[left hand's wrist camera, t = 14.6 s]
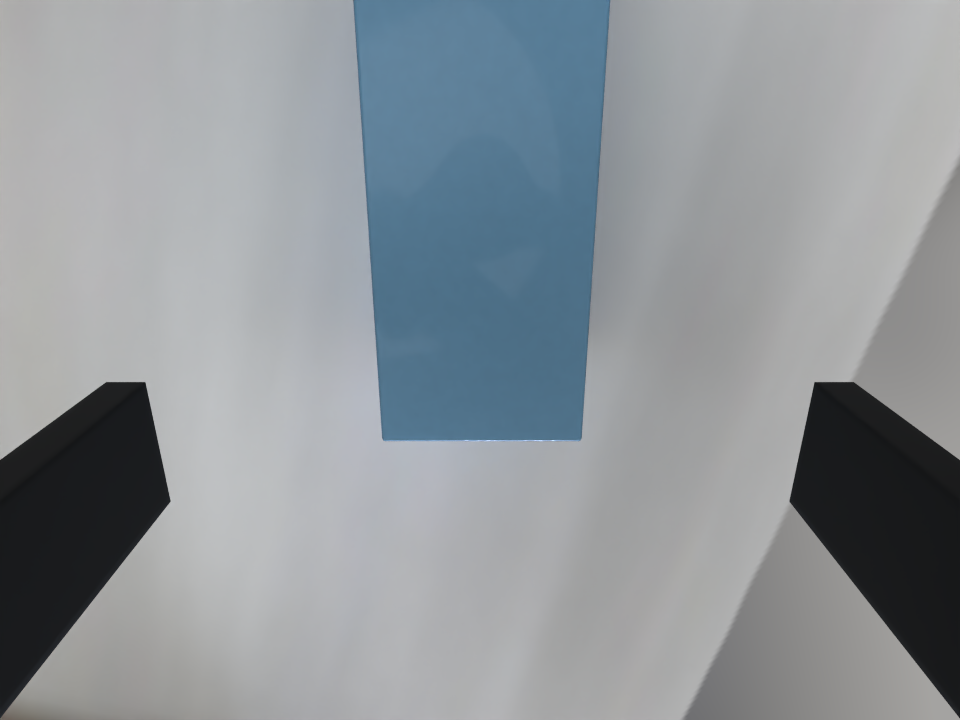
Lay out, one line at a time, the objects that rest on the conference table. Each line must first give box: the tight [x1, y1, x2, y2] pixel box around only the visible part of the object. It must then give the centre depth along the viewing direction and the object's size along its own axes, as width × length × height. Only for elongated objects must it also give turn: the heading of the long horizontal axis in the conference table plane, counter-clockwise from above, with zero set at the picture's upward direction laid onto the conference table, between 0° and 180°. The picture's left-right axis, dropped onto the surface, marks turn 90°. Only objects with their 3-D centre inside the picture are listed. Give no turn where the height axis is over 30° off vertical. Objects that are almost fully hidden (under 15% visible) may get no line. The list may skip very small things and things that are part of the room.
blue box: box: [353, 0, 610, 441], centre depth 22 cm, size 16×7×9 cm, turn 0°
